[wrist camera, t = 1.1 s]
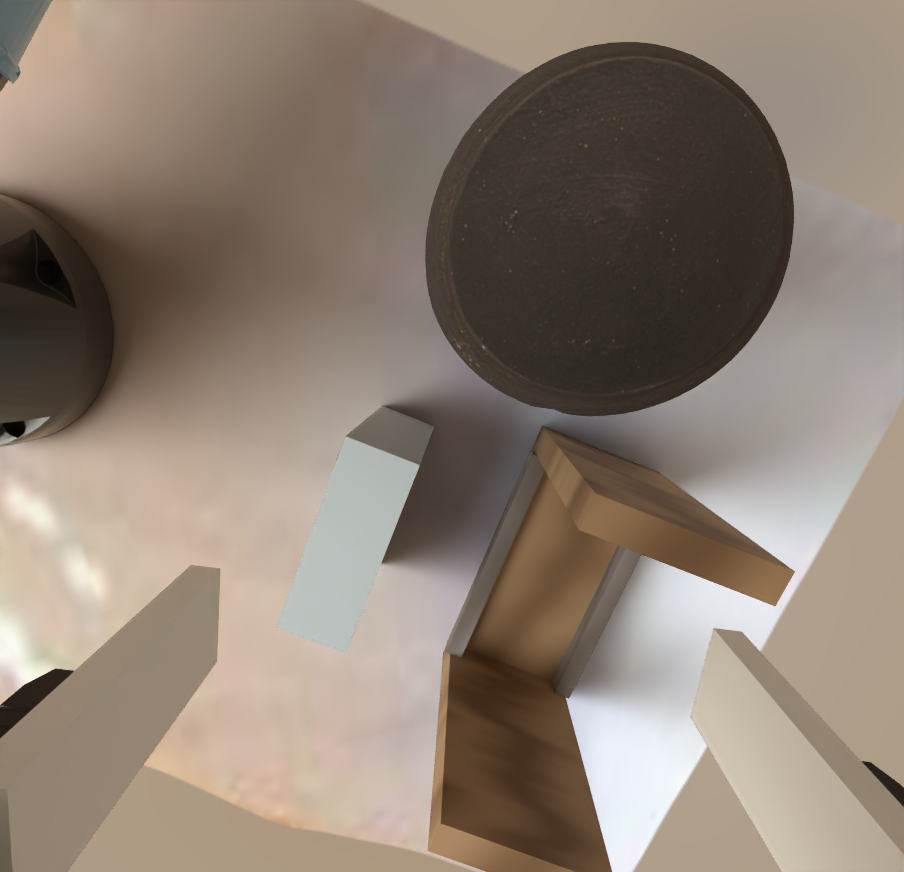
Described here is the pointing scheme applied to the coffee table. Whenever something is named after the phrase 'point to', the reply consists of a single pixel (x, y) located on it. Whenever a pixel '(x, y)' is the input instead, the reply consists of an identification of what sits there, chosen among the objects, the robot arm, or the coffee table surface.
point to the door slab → (354, 527)
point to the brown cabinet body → (556, 649)
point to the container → (610, 230)
